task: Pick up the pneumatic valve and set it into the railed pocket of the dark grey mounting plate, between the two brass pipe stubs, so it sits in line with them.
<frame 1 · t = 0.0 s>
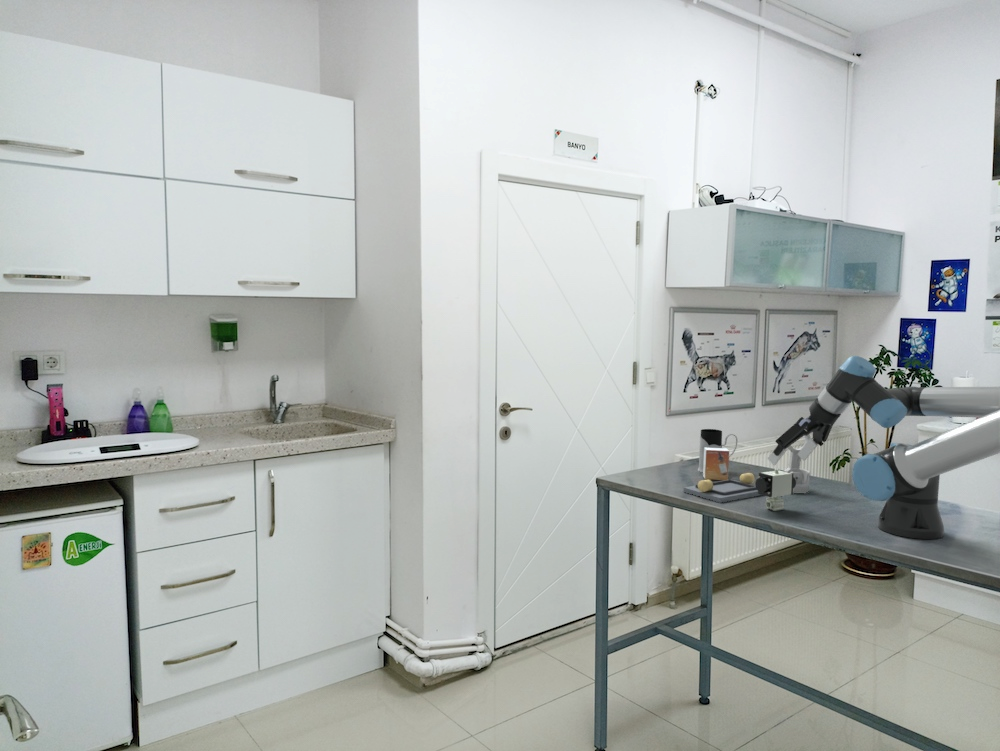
hand: (786, 459, 202), 15 cm above the table, tool tilted 35°, fingers open, 13 cm apart
engine component: (793, 490, 230), on the table
pneumatic valve: (773, 509, 206), on the table
glass holder: (717, 471, 257), on the table
mounting plate: (726, 492, 225), on the table
small box: (715, 479, 245), on the table
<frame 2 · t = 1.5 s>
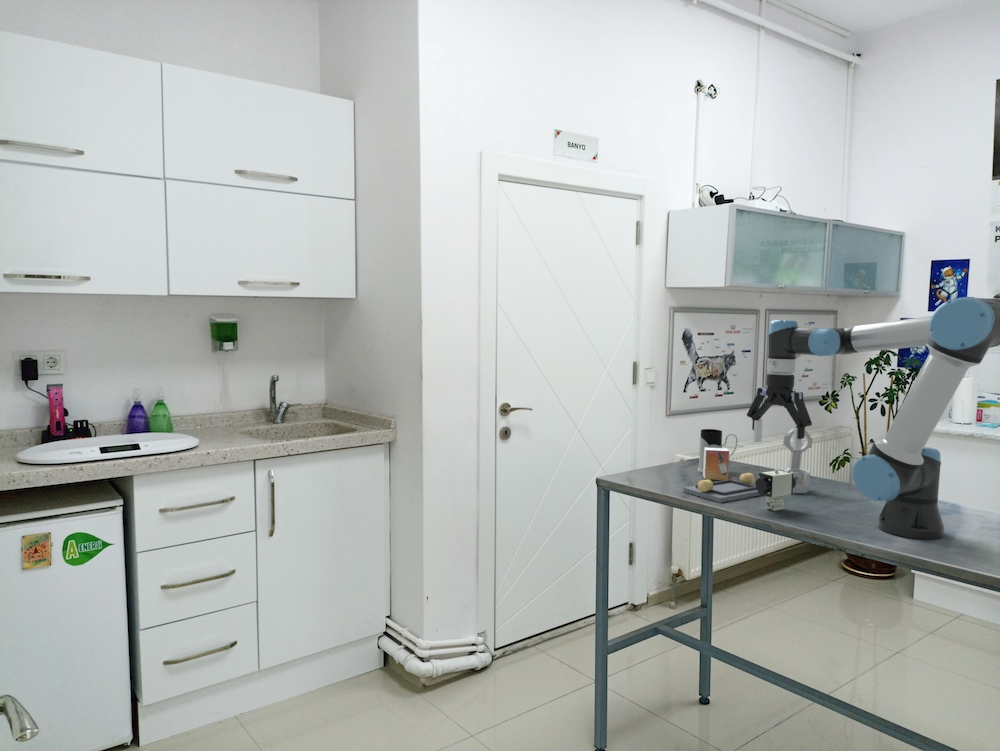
hand: (776, 445, 204), 19 cm above the table, tool pointing down, fingers open, 13 cm apart
nothing on the table moved.
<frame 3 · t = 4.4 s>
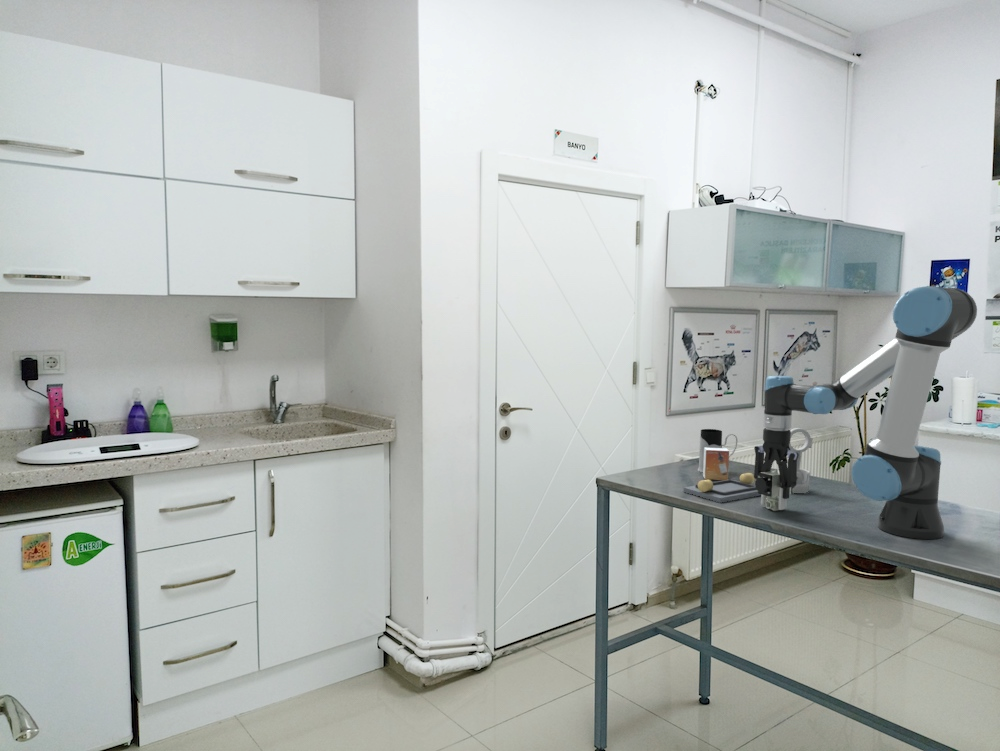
hand: (773, 506, 206), 1 cm above the table, tool pointing down, fingers closed on pneumatic valve, 5 cm apart
pneumatic valve: (773, 509, 206), on the table, touching gripper
everything else where it was.
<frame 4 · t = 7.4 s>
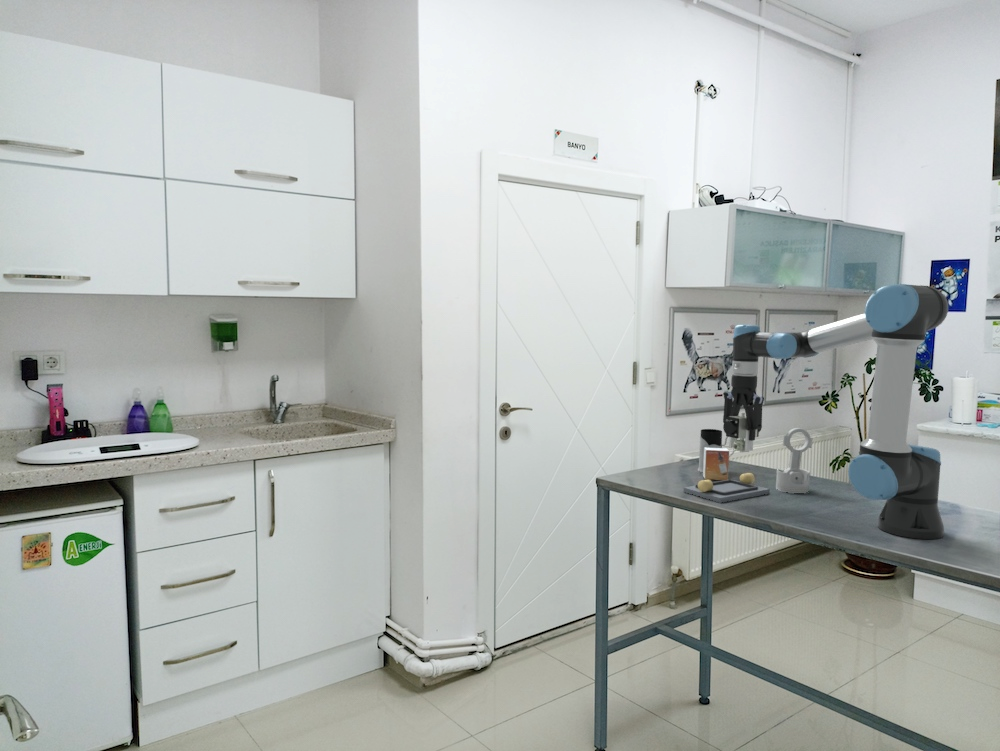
hand: (740, 448, 218), 15 cm above the table, tool pointing down, fingers closed on pneumatic valve, 5 cm apart
pneumatic valve: (740, 451, 218), point 14 cm above the table, touching gripper
everything else where it was.
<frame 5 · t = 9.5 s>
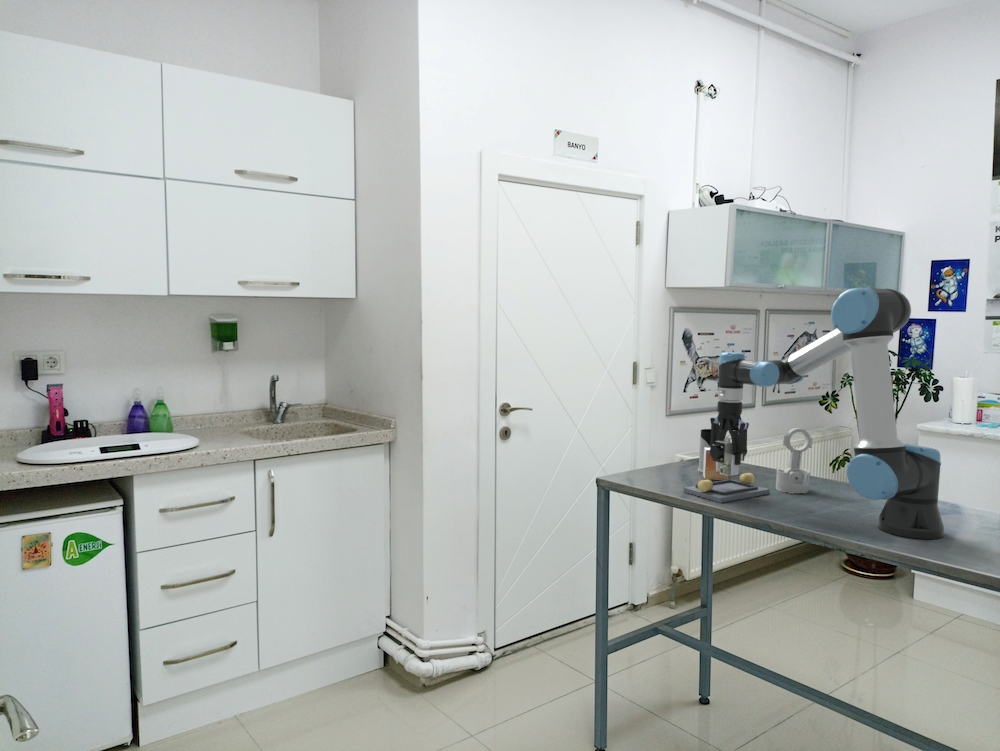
hand: (726, 472, 224), 7 cm above the table, tool pointing down, fingers closed on pneumatic valve, 5 cm apart
pneumatic valve: (726, 475, 224), point 6 cm above the table, touching gripper
everything else where it was.
when the fingers open (3 cm above the table, at t = 10.9 s): pneumatic valve stays where it is, resting on mounting plate.
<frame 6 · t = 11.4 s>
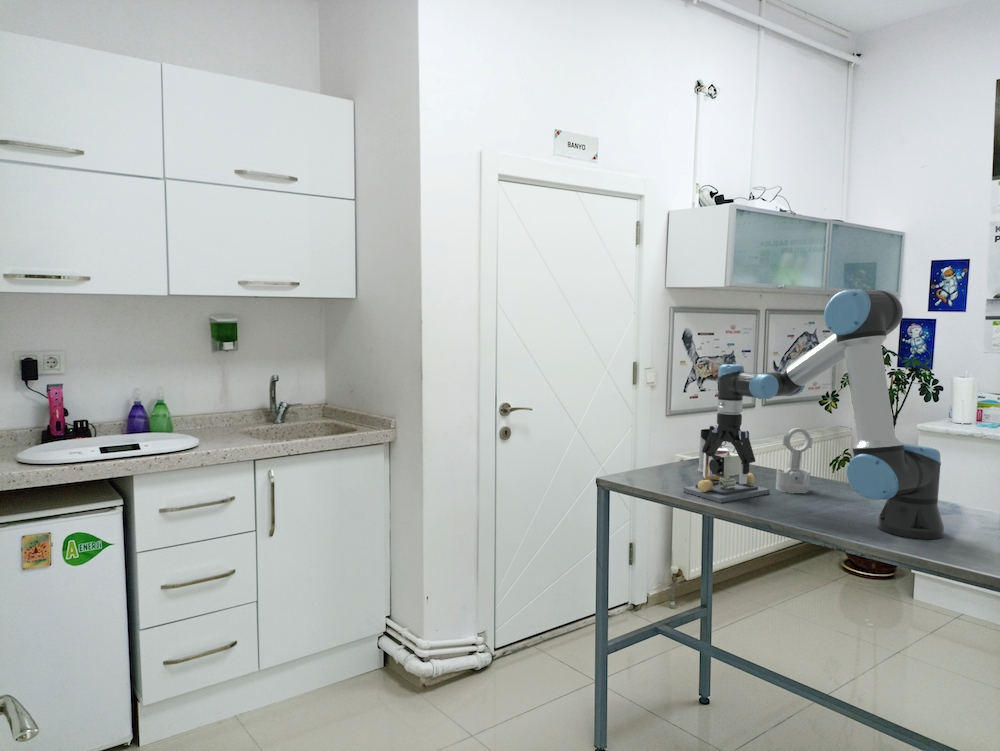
hand: (726, 479, 224), 4 cm above the table, tool pointing down, fingers open, 12 cm apart
pneumatic valve: (726, 488, 225), point 1 cm above the table, touching mounting plate
everything else where it was.
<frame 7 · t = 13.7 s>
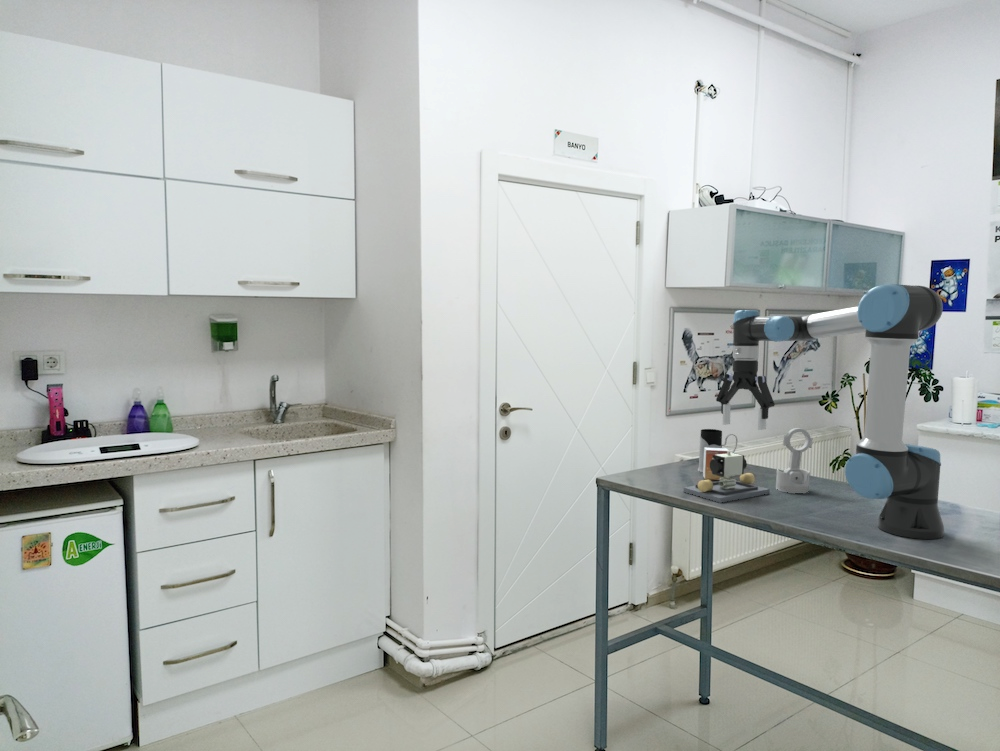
hand: (743, 426, 220), 22 cm above the table, tool pointing down, fingers open, 13 cm apart
nothing on the table moved.
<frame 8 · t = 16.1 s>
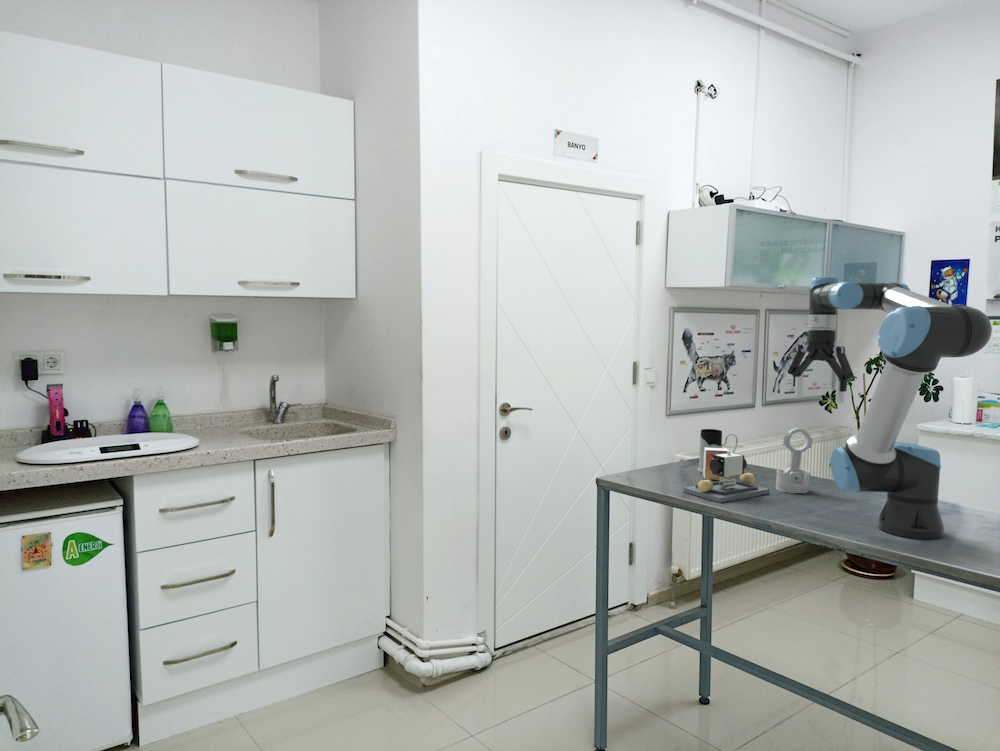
hand: (818, 400, 210), 32 cm above the table, tool pointing down, fingers open, 13 cm apart
nothing on the table moved.
at the end: pneumatic valve 0.1 cm off-centre on the mounting plate, point 1.3 cm above the mounting plate's base; pneumatic valve tilted 0°; the gripper is holding nothing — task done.
